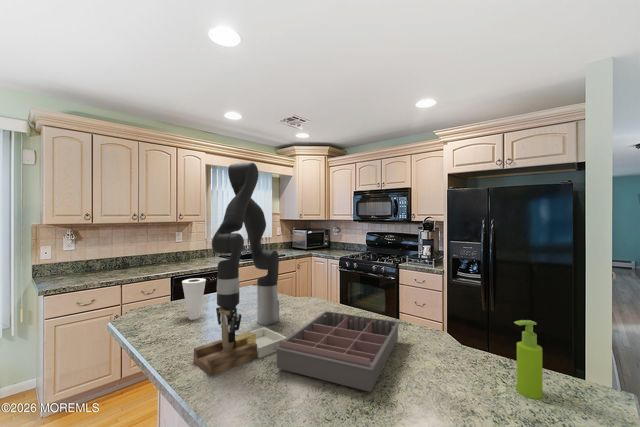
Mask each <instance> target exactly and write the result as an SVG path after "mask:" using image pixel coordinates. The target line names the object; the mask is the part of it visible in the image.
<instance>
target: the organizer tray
mask: <svg viewBox="0 0 640 427" xmlns="http://www.w3.org/2000/svg"><path fill="white" fill-rule="evenodd" d="M400 324H401V322H400V321H395V320H389V319H388V320H387V319H381V318H375V317H369V316H368V317H367V316H361V315H357V314H356V315H355V314H348V313H343V312H342V313H341V312H335V311H330V310H329V311H328V310H325V311H324V312H322V313H320V314H319V315H318V316H316V317H315V318H313V319H312V320H311V321H309V322H308V323H306V324H305V325H304V326H302V327H301V328H299V330H297V331H295V332H294V333H292V334H291V335H290V336H288V337H287V339H286V340H284V341H281V340H280V341H279V345H277V346H276V347H274V349H277V351H276V369H279V370H284V371H288V372H291V373H295V374H300V375H304V376H306V377H307V376H308V377H311V378H315V379H318V380H322V381H327V382H331V383H335V384H339V385H343V386H346V387H350V388H354V389H358V390H362V391H366V392H370V393H371V392H372V390H373V389H374V386H375V384H376V383H377V381H378V380H379V377H380V375H381V373H382V371H383V369H384V367H385V365H386V364H387V361H388V360H389V357H390V355H391V353H392V352H393V350H394V348H395V345H396V343H397V342H398V340H399V326H400Z"/></svg>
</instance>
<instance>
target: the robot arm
mask: <svg viewBox="0 0 640 427" xmlns="http://www.w3.org/2000/svg"><path fill="white" fill-rule="evenodd" d="M227 174H228V179H229V183H230V185H231V188H232V191H233V193H234V195H235V196H234V197H233V198H232V199H231V200H230V201H229V203H228V204H227V207H226V210H225V213H224V215H223V216H224V217H223V220H222V222H221V223H220V225H219V227H218V229H217V230H216V231H215V233H214V235H213V238H212V240H211V248H212V250H213V252H214V253H216V254H230V257H229V259H223V260H221V261H219V262H218V264H217V280H216V305H217V306H218V307H216V308H215V311H216V316H217V324H218V326H220V328H221V330H222V329H223V315H222V314H220V312H219V308H220V307H222V308H224V309H226V310H228V311H230V315H224V317H225V320H226V325H227V326H228V342H229V343H232V342H234V341H235V335H236V332H237V331H240V327H241V326H240V325H241V321H242V314H241V313H237V312H238V309H237V310H236V308H237V305H239V304H240V279H239V278H240V277H239V276H240V273H239V271H240V270H239V269H240V268H239V266H240V261H241V255H242V252H243V248H244V245H245V240H244V239H245V238H244V237H243V236H242V234H240V233H238V231H241V229H242V228H243V226H244V228H245V231H246V234H247V238H248V242H249V245H250V250H251V257H252V261H253V265H254V268H256V269H257V270H261V271H262V270H263V271H267V274H266V275H263V276H260V277H258V278H257V281H256V282H257V284H256V287H257V289H256V290H257V291H256V292H257V293H256V294H257V295H256V296H257V302H256V303H257V306H256V307H257V308H256V310H257V314H256V315H257V316H256V317H257V318H256V319H257V321H256V322H257V324H259V325H265V326H267V325H273V324H276V323H277V322H279V321H280V300H279V299H278V279H279V267H280V266H279V265H280V256H279V252H278V251H277V250H276V249H264V248H263V246H262V238H263V236H264V234H265V231H266V229H267V223H266V222H267V221H266V217H265V213H264V211H263V210H264V209H262V207H261V206H260V205H259V204H258V203H257V201H255V200H254V199H253V198H252V195H253V194H254V192H255V189H256V186H257V185H258V184H257V183H258V182H259V175H260V174H259V169H258V166H257V164H256V163H254V162H252V161H251V162H249V161H247V162H239V163H238V162H237V163H231V164H230V165H229V166H228V169H227ZM229 321H232V322H229ZM231 324H232V326H231Z"/></svg>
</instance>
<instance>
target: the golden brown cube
mask: <svg viewBox="0 0 640 427" xmlns="http://www.w3.org/2000/svg"><path fill="white" fill-rule="evenodd" d="M240 335H242V336H244V337H246V338H247V339H246V345H247V344H250V343H253V342H254V343H256V334H254V333H252V332H250V331H247V332H244V333H242V334H240Z"/></svg>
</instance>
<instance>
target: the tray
mask: <svg viewBox="0 0 640 427" xmlns="http://www.w3.org/2000/svg"><path fill="white" fill-rule="evenodd" d="M249 332H252V333H254V334H256V344H257V351H258V357H257V359H261V358H263V357H267V356H268V355H271V354H274V353H277V349H274V347H276V346H277V345H279V341H280V340H281V341H284V340H286V339H287V338H288V337H287V336H285V335H282V334H280V333H279V332H276V331H274V330H271V329H270V328H268V327H265V326H263V327H259V328H256V329H254V330H251V331H249Z"/></svg>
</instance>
